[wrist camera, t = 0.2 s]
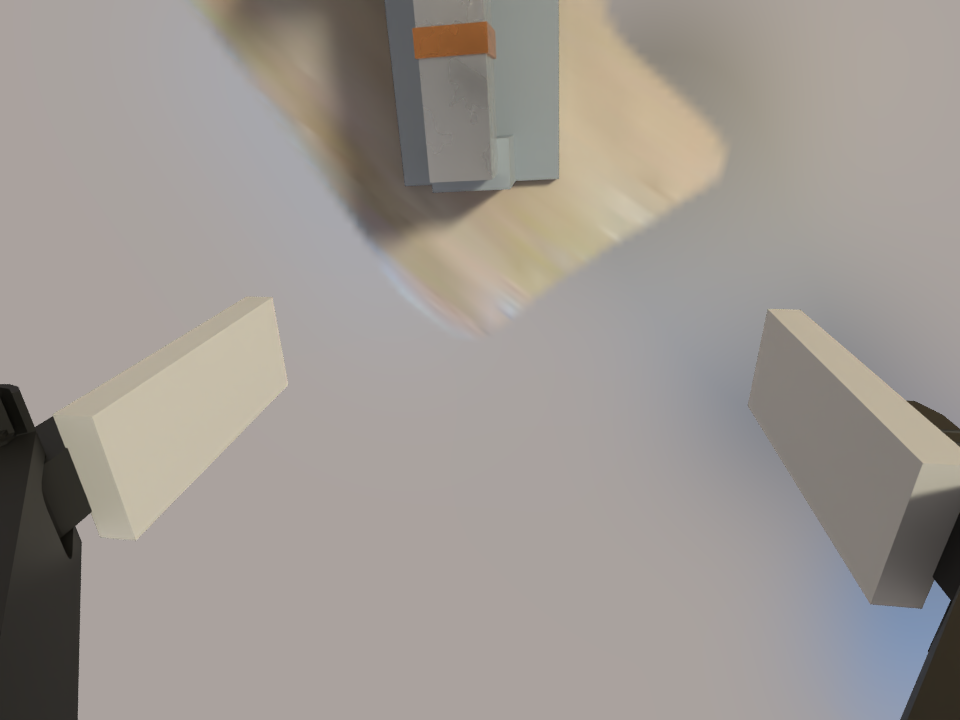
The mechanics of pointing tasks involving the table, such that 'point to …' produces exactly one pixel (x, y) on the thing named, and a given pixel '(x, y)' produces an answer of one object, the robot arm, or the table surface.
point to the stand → (518, 94)
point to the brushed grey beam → (457, 87)
